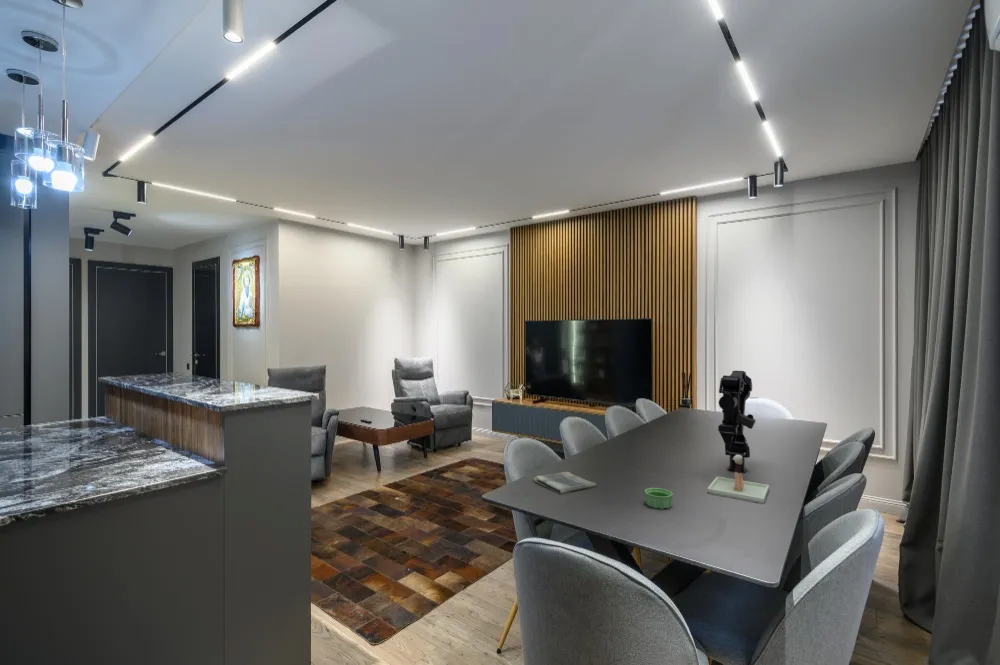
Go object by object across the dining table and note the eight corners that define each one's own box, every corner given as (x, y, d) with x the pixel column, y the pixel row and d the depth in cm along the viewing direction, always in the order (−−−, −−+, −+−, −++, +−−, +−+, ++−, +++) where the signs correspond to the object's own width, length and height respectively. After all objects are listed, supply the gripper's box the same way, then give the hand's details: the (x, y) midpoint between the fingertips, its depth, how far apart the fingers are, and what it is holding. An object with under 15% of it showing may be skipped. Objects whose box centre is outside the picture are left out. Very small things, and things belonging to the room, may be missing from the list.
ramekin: (638, 502, 164) (639, 489, 164) (660, 499, 168) (660, 486, 168) (656, 511, 156) (656, 498, 156) (678, 507, 159) (678, 494, 159)
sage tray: (716, 480, 189) (716, 476, 189) (769, 489, 178) (769, 485, 178) (707, 493, 174) (707, 488, 174) (763, 504, 164) (763, 498, 164)
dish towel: (598, 488, 180) (598, 479, 180) (560, 496, 171) (560, 487, 171) (566, 475, 196) (566, 467, 196) (530, 482, 187) (530, 473, 187)
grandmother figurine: (745, 493, 172) (745, 457, 172) (733, 491, 173) (733, 456, 173) (742, 486, 179) (743, 452, 179) (731, 485, 181) (731, 451, 181)
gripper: (750, 412, 178) (750, 454, 178) (757, 406, 193) (756, 445, 193) (718, 409, 184) (717, 450, 184) (727, 403, 200) (726, 441, 200)
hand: (730, 446), depth 190 cm, fingers open, 9 cm apart
